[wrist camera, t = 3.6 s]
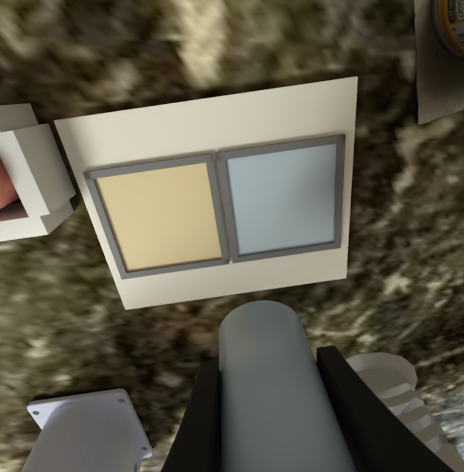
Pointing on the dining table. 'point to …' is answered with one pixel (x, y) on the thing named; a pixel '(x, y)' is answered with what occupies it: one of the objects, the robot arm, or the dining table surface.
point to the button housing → (32, 175)
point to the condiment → (439, 57)
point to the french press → (405, 400)
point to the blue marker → (274, 396)
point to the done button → (6, 188)
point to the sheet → (220, 190)
